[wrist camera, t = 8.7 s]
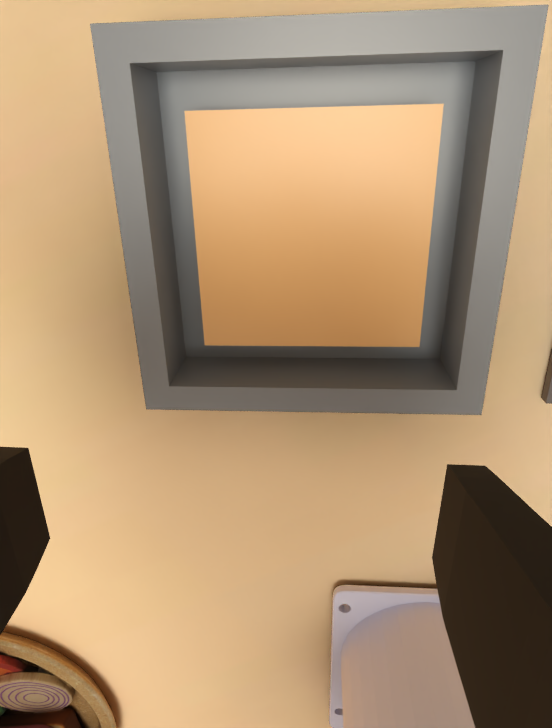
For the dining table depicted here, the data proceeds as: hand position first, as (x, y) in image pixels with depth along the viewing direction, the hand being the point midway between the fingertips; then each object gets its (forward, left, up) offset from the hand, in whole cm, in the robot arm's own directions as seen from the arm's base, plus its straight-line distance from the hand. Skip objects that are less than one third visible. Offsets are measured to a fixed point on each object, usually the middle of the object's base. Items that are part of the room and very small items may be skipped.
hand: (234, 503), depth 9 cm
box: (+3, -1, -9) cm, 10 cm away
